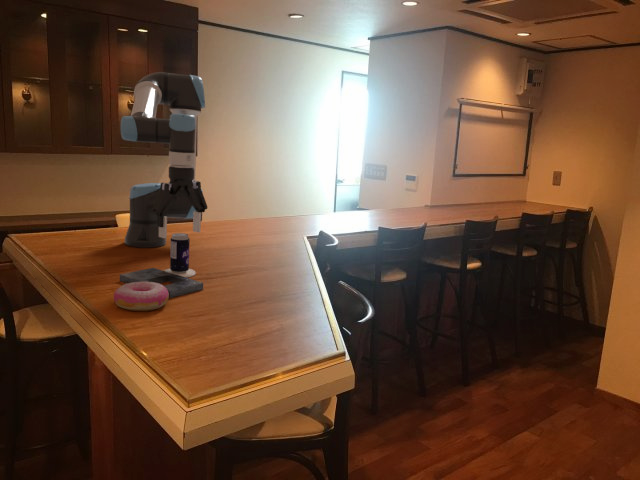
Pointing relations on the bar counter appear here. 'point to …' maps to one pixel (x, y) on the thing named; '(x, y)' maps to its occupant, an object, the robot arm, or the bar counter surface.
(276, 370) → the bar counter surface
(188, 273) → the coaster
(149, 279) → the grey board with hole
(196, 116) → the robot arm
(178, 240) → the beverage can
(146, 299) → the donut
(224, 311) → the bar counter surface
